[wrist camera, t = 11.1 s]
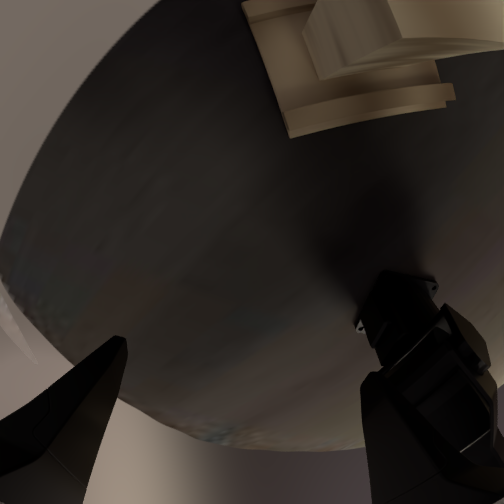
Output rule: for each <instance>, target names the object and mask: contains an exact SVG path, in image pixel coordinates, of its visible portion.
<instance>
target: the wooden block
mask: <svg viewBox="0 0 504 504" xmlns="http://www.w3.org/2000/svg"><path fill="white" fill-rule="evenodd" d="M302 35H303V37H304V40H305V43H306V45H307V48H308V50H309V53H310V56H311V58H312V61H313V64H314V67H315V69H316V72H317V75H318V78H319V81H321V80H326V79H331V78H336V77H341V76H346V75H352V74H357V73H364V72H370V71H377V70H385V69H393V68H401V67H405V66H409V65H414V64H418V63H422V62H427V61H431V60H436V59H441V58H447V57H452V56H458V55H464V54H470V53H477V52H485V51H494V50H504V0H317V2H316V4H315V6H314V8H313V10H312V12H311V14H310V16H309V19H308V21H307V23H306V25H305V27H304V29H303V31H302Z"/></svg>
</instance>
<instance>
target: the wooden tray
mask: <svg viewBox="0 0 504 504" xmlns="http://www.w3.org/2000/svg"><path fill="white" fill-rule="evenodd" d="M316 2H317V0H249V1H245V2H242V3H241V6H242V9H243V12H244V14H245V16H246V19H247V21H248V24H249V26H250V29H251V31H252V34H253V36H254V39H255V41H256V44H257V46H258V49H259V52H260V54H261V57H262V60H263V62H264V65H265V68H266V70H267V73H268V76H269V79H270V81H271V84H272V87H273V90H274V93H275V96H276V99H277V102H278V105H279V107H280V110H281V113H282V116H283V120H284V123H285V126H286V129H287V132H288V135H289V138H290V139H291V138H295V137H298V136H302V135H306V134H310V133H314V132H317V131H321V130H326V129H330V128H334V127H338V126H343V125H347V124H351V123H356V122H361V121H366V120H371V119H376V118H381V117H386V116H392V115H397V114H403V113H409V112H416V111H423V110H430V109H437V108H445V107H446V103H445V101H449V100H456V97H455V93H454V89H453V85H452V83H442V84H441V82H440V78H439V75H438V71H437V68H436V64H435V61H434V60H431V61H427V62H422V63H418V64H414V65H409V66H405V67H401V68H393V69H385V70H377V71H370V72H364V73H357V74H352V75H346V76H341V77H336V78H331V79H326V80H321V81H319V78H318V75H317V72H316V69H315V67H314V64H313V61H312V58H311V56H310V53H309V50H308V48H307V45H306V43H305V40H304V37H303V35H302V31H303V29H304V27H305V25H306V23H307V21H308V19H309V16H310V14H311V12H312V10H313V8H314V6H315V4H316Z"/></svg>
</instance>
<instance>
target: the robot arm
mask: <svg viewBox="0 0 504 504" xmlns="http://www.w3.org/2000/svg"><path fill="white" fill-rule="evenodd" d="M386 275H387V277H386V278H384V277H385V276H386ZM433 286H434V287H433ZM432 287H433V288H432ZM438 287H439V285H438V283H437V282H436V281H433V280H428V279H424V278H419V277H415V276H410V275H406V274H401V273H397V272H392V271H388V270H385V271H382V272H381V273H380V275H379V277H378V280H377V282H376V284H375V286H374V288H373V290H372V292H371V293H370V294H369V296H368V298H367V301H366V303H365V305H364V307H363V309H362V311H361V313H360V315H359V319H358V321H357V323H356V325H355V329H356V332H358V333H364V334H366V335H367V338H368V341H369V343H370V346H371V348H375V350H376V353H377V356H378V358H379V361H380V364H381V366H384V367H383V368H381V369H380V370H379V371H378V372H370V373H369V374H368V376H367V377H366V378H365V380H364V381H363V382H362V384H361V387H360V395H361V413H362V425H363V432H364V439H365V446H366V453H367V460H368V469H369V477H370V487H371V498H372V504H504V437H503V436H502V434H501V432H500V431H499V429H498V427H497V423H498V421H497V420H498V418H497V417H498V400H497V384H496V382H495V380H494V379H493V377H492V376H491V374H490V373H489V371H488V370H487V369H488V368H489V367H490V366H491V362H490V358H489V354H488V349H487V345H486V342H485V340H484V339H483V338H482V336H481V335H480V334H479V332H478V331H477V330H476V329H475V327H474V326H473V325H472V324H471V323H470V322H469V321H468V320H467V319H465V318H464V317H463V316H461V315H460V314H459V313H458V312H456V311H455V310H454V309H453V308H451V307H450V306H449V305H447V304H446V303H444V305H443V306H442V307H441V308H440V309H441V310H440V311H439V309H438V308H437V306H436V305H435V304H434V302H433V301H432V299H433V297H434V295H435V294H436V292H437V290H438ZM359 327H361V328H359ZM127 358H128V350H127V342H126V339H125V338H124V337H120V336H116V335H115V336H113V337H112V338H110V339H109V340H108V341H107V342H105V343H104V344H103V345H101V346H100V347H99V348H98V349H96V350H95V351H94V352H92V353H91V354H90V355H89V356H87V357H86V358H85V359H84V360H82V361H81V362H80V363H78V364H77V365H76V366H75V367H73V368H72V369H71V370H70V371H68V372H67V373H66V374H65V375H63V376H62V377H61V378H60V379H58V380H57V381H56V382H55V383H53V384H52V385H51V386H50V387H49V388H48V389H46V390H44V391H43V392H42V393H41V394H39V395H38V396H37V397H35V398H34V399H33V400H32V401H30V402H29V403H27V404H26V405H24V406H23V407H21V408H20V409H18V410H16V411H15V412H13V413H12V414H10V415H8V416H7V417H5V418H3V419H2V420H0V504H83V500H84V496H85V493H86V488H87V486H88V482H89V479H90V476H91V472H92V469H93V466H94V463H95V460H96V457H97V454H98V450H99V447H100V444H101V441H102V439H103V436H104V432H105V430H106V427H107V424H108V421H109V419H110V416H111V413H112V410H113V407H114V405H115V402H116V399H117V397H118V393H119V389H120V385H121V381H122V377H123V373H124V369H125V366H126V362H127Z"/></svg>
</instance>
